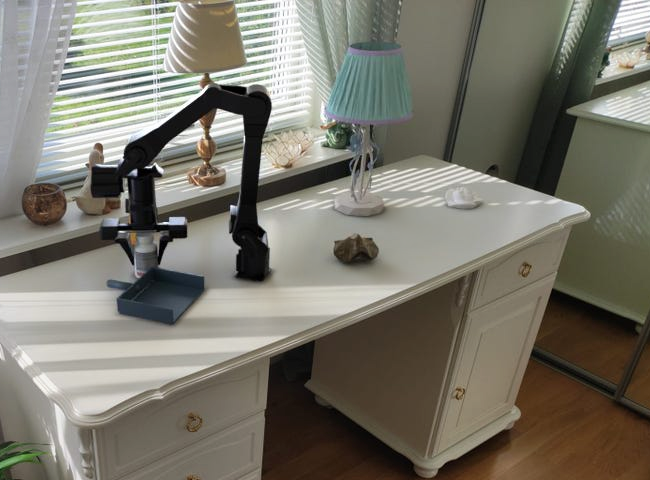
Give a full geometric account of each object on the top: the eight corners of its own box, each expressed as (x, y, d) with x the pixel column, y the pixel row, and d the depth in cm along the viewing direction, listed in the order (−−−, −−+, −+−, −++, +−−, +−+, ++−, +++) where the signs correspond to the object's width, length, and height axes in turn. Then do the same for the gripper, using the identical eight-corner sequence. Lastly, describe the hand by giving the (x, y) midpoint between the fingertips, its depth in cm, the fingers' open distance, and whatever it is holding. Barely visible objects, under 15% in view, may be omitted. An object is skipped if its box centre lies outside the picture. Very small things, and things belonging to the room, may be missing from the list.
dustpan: (204, 290, 153) (204, 276, 151) (172, 324, 141) (171, 309, 139) (125, 275, 160) (124, 261, 158) (88, 307, 148) (86, 292, 146)
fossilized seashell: (377, 241, 166) (334, 245, 168) (377, 224, 160) (331, 229, 163) (380, 268, 163) (335, 272, 165) (379, 251, 157) (333, 256, 159)
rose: (441, 180, 194) (478, 180, 194) (439, 196, 196) (474, 196, 196) (452, 193, 186) (490, 193, 185) (449, 210, 188) (487, 209, 188)
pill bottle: (163, 276, 160) (161, 235, 154) (142, 282, 157) (139, 241, 152) (151, 267, 163) (148, 227, 158) (130, 273, 161) (127, 233, 156)
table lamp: (339, 188, 204) (352, 36, 182) (412, 202, 193) (436, 42, 171) (303, 212, 189) (312, 49, 168) (380, 229, 179) (401, 58, 157)
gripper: (186, 183, 157) (188, 248, 166) (102, 184, 157) (108, 250, 166) (186, 201, 148) (188, 269, 156) (95, 203, 148) (103, 271, 157)
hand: (146, 264), depth 159 cm, fingers closed on pill bottle, 5 cm apart
